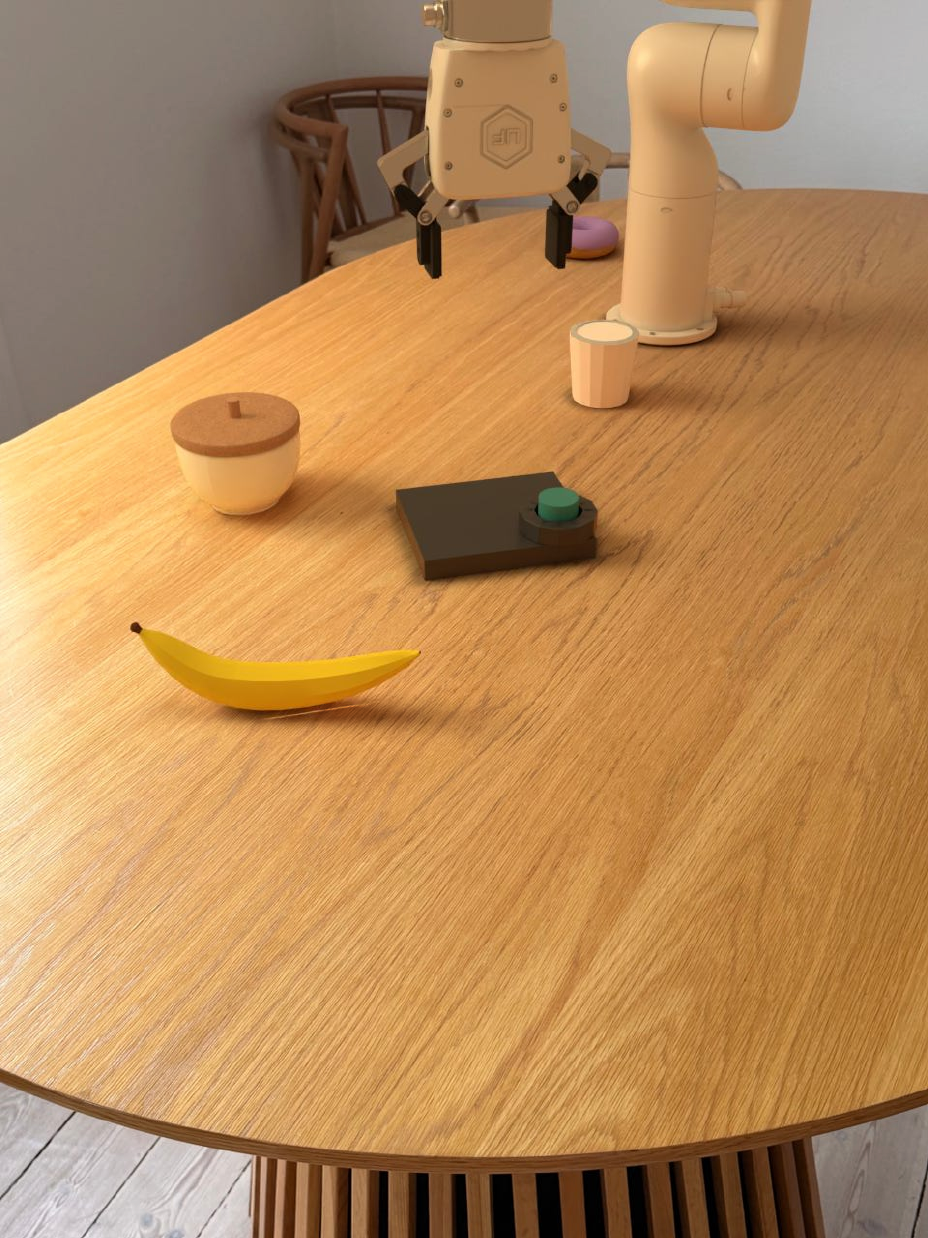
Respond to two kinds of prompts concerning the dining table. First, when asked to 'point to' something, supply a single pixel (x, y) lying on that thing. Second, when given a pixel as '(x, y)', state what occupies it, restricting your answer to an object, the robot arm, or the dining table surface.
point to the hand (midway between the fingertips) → (494, 268)
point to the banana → (271, 674)
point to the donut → (592, 237)
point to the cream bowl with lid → (238, 449)
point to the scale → (491, 526)
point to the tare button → (558, 504)
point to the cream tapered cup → (602, 362)
